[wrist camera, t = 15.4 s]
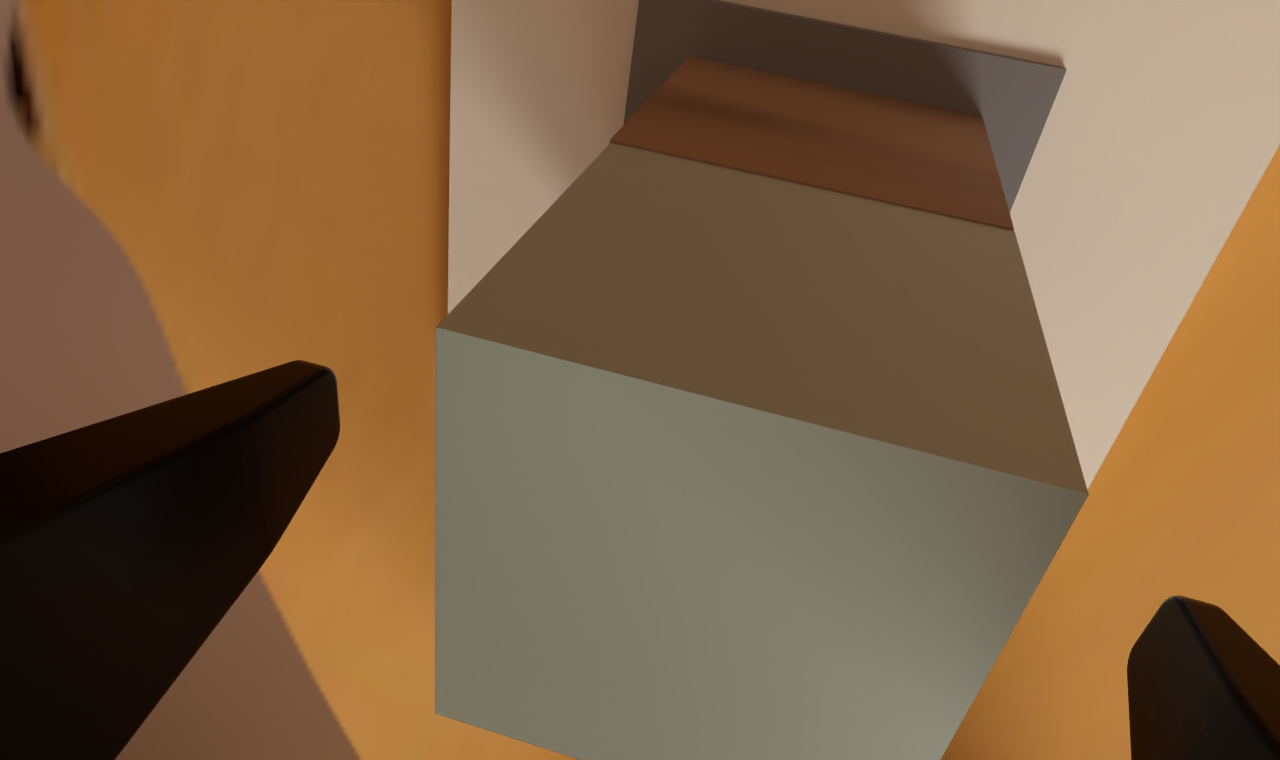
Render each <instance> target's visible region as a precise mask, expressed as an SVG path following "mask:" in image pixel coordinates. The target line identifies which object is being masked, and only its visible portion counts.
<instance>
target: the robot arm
mask: <svg viewBox="0 0 1280 760" xmlns="http://www.w3.org/2000/svg"><path fill="white" fill-rule="evenodd" d="M339 432H340V418H339V404H338V391H337V380H336V376H335V374H334V372H333V371H332V370H331V369H330V368H328V367H325V366H321V365H318V364H314V363H310V362H306V361H301V360H296V361H292V362H289V363H285V364H282V365H279V366H276V367H273V368H270V369H266V370H263V371H260V372H257V373H254V374H251V375H247V376H244V377H241V378H238V379H235V380H232V381H228V382H225V383H222V384H219V385H216V386H213V387H209V388H206V389H203V390H200V391H197V392H194V393H190V394H187V395H184V396H181V397H178V398H175V399H171V400H169V401H165V402H162V403H159V404H156V405H153V406H149V407H146V408H143V409H140V410H136V411H133V412H130V413H127V414H124V415H121V416H118V417H114V418H111V419H108V420H105V421H102V422H98V423H95V424H92V425H89V426H86V427H83V428H80V429H77V430H73V431H70V432H67V433H64V434H60V435H57V436H54V437H51V438H48V439H45V440H41V441H38V442H35V443H32V444H29V445H26V446H22V447H19V448H16V449H13V450H10V451H7V452H3V453H0V760H115V759H116V758H117V757H118V755H119V754H120V753H121V751H122V750H123V749H124V747H125V746H126V745H127V744H128V742H129V741H130V740H131V738H132V737H133V736H134V734H135V733H136V732H137V730H138V729H139V728H140V726H141V725H142V724H143V722H144V721H145V720H146V718H147V717H148V716H149V714H150V713H151V712H152V710H153V709H154V708H155V706H156V705H157V704H158V703H159V701H160V700H161V699H162V697H163V696H164V695H165V693H166V692H167V691H168V689H169V688H170V687H171V685H172V684H173V683H174V681H175V680H176V679H177V677H178V676H179V675H180V674H181V672H182V671H183V670H184V668H185V667H186V666H187V664H188V663H189V662H190V660H191V659H192V658H193V656H194V655H195V654H196V652H197V651H198V650H199V648H200V647H201V646H202V644H203V643H204V641H205V640H206V639H207V638H208V636H209V635H210V634H211V633H212V631H213V630H214V629H215V627H216V626H217V625H218V623H219V622H220V621H221V619H222V618H223V617H224V615H225V614H226V613H227V611H228V610H229V609H230V607H231V606H232V605H233V603H234V602H235V601H236V600H237V598H238V597H239V596H240V594H241V593H242V592H243V590H244V589H245V587H246V586H247V585H248V584H249V582H250V581H251V580H252V578H253V577H254V576H255V574H256V573H257V572H258V570H259V569H260V568H261V566H262V565H263V564H264V562H265V561H266V559H267V558H268V557H269V555H270V554H271V552H272V551H273V549H274V548H275V546H276V545H277V543H278V541H279V540H280V538H281V537H282V535H283V533H284V532H285V530H286V528H287V527H288V525H289V523H290V522H291V520H292V518H293V517H294V515H295V513H296V512H297V510H298V508H299V507H300V505H301V503H302V501H303V500H304V498H305V496H306V495H307V493H308V491H309V490H310V488H311V486H312V485H313V483H314V481H315V480H316V478H317V476H318V475H319V473H320V471H321V470H322V468H323V466H324V464H325V463H326V461H327V459H328V458H329V456H330V454H331V453H332V451H333V449H334V447H335V445H336V443H337V440H338V437H339ZM1127 680H1128V700H1129V720H1130V740H1131V760H1280V665H1279V664H1278V663H1277V662H1276V661H1275V660H1274V659H1273V658H1272V657H1271V656H1269V655H1268V654H1267V653H1266V652H1265V651H1264V650H1263V649H1262V648H1261V647H1260V646H1259V645H1258V644H1257V643H1256V642H1255V641H1254V640H1253V639H1252V638H1251V637H1250V636H1249V635H1248V634H1247V633H1246V632H1245V631H1244V630H1243V629H1242V628H1241V627H1240V626H1239V625H1238V624H1237V623H1236V622H1235V621H1234V620H1233V619H1232V618H1231V617H1230V616H1229V615H1228V614H1227V613H1225V612H1224V611H1223V610H1222V609H1221V608H1219V607H1218V606H1216V605H1213V604H1210V603H1206V602H1202V601H1199V600H1195V599H1191V598H1187V597H1184V596H1172V597H1170V598H1168V599H1167V600H1165V601H1164V603H1163V604H1162V605H1161V606H1160V608H1159V609H1158V611H1157V612H1156V614H1155V615H1154V616H1153V618H1152V619H1151V621H1150V622H1149V624H1148V625H1147V627H1146V628H1145V630H1144V631H1143V633H1142V634H1141V635H1140V637H1139V638H1138V640H1137V641H1136V643H1135V644H1134V646H1133V648H1132V650H1131V652H1130V655H1129V659H1128V665H1127Z"/></svg>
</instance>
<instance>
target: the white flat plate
mask: <svg viewBox="0 0 1280 760" xmlns="http://www.w3.org/2000/svg"><path fill="white" fill-rule="evenodd" d="M689 57H695V58H700V59H705V60H709V61H714V62H719V63H724V64H729V65H734V66H739V67H744V68H749V69H753V70H758V71H763V72H768V73H773V74H778V75H783V76H788V77H793V78H797V79H802V80H807V81H812V82H817V83H822V84H827V85H832V86H837V87H842V88H846V89H851V90H856V91H861V92H866V93H871V94H876V95H881V96H886V97H890V98H895V99H900V100H905V101H910V102H915V103H920V104H925V105H930V106H934V107H939V108H944V109H949V110H954V111H959V112H964V113H969V114H974V115H979V116H982V117H983V120H984V124H985V127H986V131H987V134H988V138H989V141H990V145H991V149H992V152H993V156H994V159H995V163H996V166H997V170H998V173H999V177H1000V181H1001V184H1002V188H1003V191H1004V195H1005V198H1006V202H1007V205H1008V209H1009V212H1010V216H1011V220H1012V223H1013V227H1014V231H1015V234H1016V238H1017V241H1018V245H1019V248H1020V252H1021V256H1022V259H1023V263H1024V266H1025V270H1026V273H1027V277H1028V280H1029V284H1030V288H1031V291H1032V295H1033V298H1034V302H1035V305H1036V309H1037V312H1038V316H1039V320H1040V323H1041V327H1042V330H1043V334H1044V337H1045V341H1046V344H1047V348H1048V352H1049V355H1050V359H1051V362H1052V366H1053V369H1054V373H1055V376H1056V380H1057V384H1058V387H1059V391H1060V394H1061V398H1062V401H1063V405H1064V408H1065V412H1066V416H1067V419H1068V423H1069V426H1070V430H1071V433H1072V437H1073V440H1074V444H1075V448H1076V451H1077V455H1078V458H1079V462H1080V465H1081V469H1082V472H1083V476H1084V480H1085V483H1086V487H1087V489H1088V488H1089V486H1090V484H1091V482H1092V481H1093V479H1094V477H1095V475H1096V473H1097V472H1098V470H1099V468H1100V466H1101V464H1102V463H1103V461H1104V459H1105V457H1106V455H1107V454H1108V452H1109V450H1110V448H1111V446H1112V445H1113V443H1114V441H1115V439H1116V437H1117V436H1118V434H1119V432H1120V430H1121V428H1122V427H1123V425H1124V423H1125V421H1126V419H1127V418H1128V416H1129V414H1130V412H1131V410H1132V409H1133V407H1134V405H1135V403H1136V402H1137V400H1138V398H1139V396H1140V394H1141V393H1142V391H1143V389H1144V387H1145V385H1146V384H1147V382H1148V380H1149V378H1150V376H1151V375H1152V373H1153V371H1154V369H1155V367H1156V366H1157V364H1158V362H1159V360H1160V358H1161V357H1162V355H1163V353H1164V351H1165V349H1166V348H1167V346H1168V344H1169V342H1170V340H1171V339H1172V337H1173V335H1174V333H1175V331H1176V330H1177V328H1178V326H1179V324H1180V323H1181V321H1182V319H1183V317H1184V315H1185V314H1186V312H1187V310H1188V308H1189V306H1190V305H1191V303H1192V301H1193V299H1194V297H1195V296H1196V294H1197V292H1198V290H1199V288H1200V287H1201V285H1202V283H1203V281H1204V279H1205V278H1206V276H1207V274H1208V272H1209V270H1210V269H1211V267H1212V265H1213V263H1214V261H1215V260H1216V258H1217V256H1218V254H1219V252H1220V251H1221V249H1222V247H1223V245H1224V243H1225V242H1226V240H1227V238H1228V236H1229V235H1230V233H1231V231H1232V229H1233V227H1234V226H1235V224H1236V222H1237V220H1238V218H1239V217H1240V215H1241V213H1242V211H1243V209H1244V208H1245V206H1246V204H1247V202H1248V200H1249V199H1250V197H1251V195H1252V193H1253V191H1254V190H1255V188H1256V186H1257V184H1258V182H1259V181H1260V179H1261V177H1262V175H1263V173H1264V172H1265V170H1266V168H1267V166H1268V164H1269V163H1270V161H1271V159H1272V157H1273V156H1274V154H1275V152H1276V150H1277V148H1278V147H1279V145H1280V0H452V11H451V90H450V170H449V249H448V314H449V313H450V312H451V311H452V310H453V309H454V308H455V307H456V306H457V305H458V303H459V302H460V301H461V300H462V299H463V298H464V297H465V296H466V295H467V294H468V293H469V292H470V291H471V290H472V289H473V288H474V287H475V286H476V284H477V283H478V282H479V281H480V280H481V279H482V278H483V277H484V276H485V275H486V274H487V273H488V272H489V271H490V270H491V269H492V268H493V266H494V265H495V264H496V263H497V262H498V261H499V260H500V259H501V258H502V257H503V256H504V255H505V254H506V253H507V252H508V251H509V250H510V249H511V247H512V246H513V245H514V244H515V243H516V242H517V241H518V240H519V239H520V238H521V237H522V236H523V235H524V234H525V233H526V232H527V231H528V230H529V228H530V227H531V226H532V225H533V224H534V223H535V222H536V221H537V220H538V219H539V218H540V217H541V216H542V215H543V214H544V213H545V212H546V211H547V209H548V208H549V207H550V206H551V205H552V204H553V203H554V202H555V201H556V200H557V199H558V198H559V197H560V196H561V195H562V194H563V193H564V192H565V190H566V189H567V188H568V187H569V186H570V185H571V184H572V183H573V182H574V181H575V180H576V179H577V178H578V177H579V176H580V175H581V174H582V172H583V171H584V170H585V169H586V168H587V167H588V166H589V165H590V164H591V163H592V162H593V161H594V160H595V159H596V158H597V157H598V156H599V155H600V153H601V152H602V151H603V150H604V149H605V148H606V147H607V146H608V145H609V142H610V139H611V138H612V137H613V136H614V135H615V134H616V133H617V132H618V131H619V130H620V129H621V128H622V127H623V125H624V124H625V123H626V122H627V121H628V120H629V119H630V118H631V117H632V116H633V115H634V114H635V113H636V112H637V111H638V110H639V109H640V108H641V107H642V106H643V105H644V104H645V103H646V101H647V100H648V99H649V98H650V97H651V96H652V95H653V94H654V93H655V92H656V91H657V90H658V89H659V88H660V87H661V86H662V85H663V84H664V83H665V82H666V81H667V80H668V79H669V78H670V76H671V75H672V74H673V73H674V72H675V71H676V70H677V69H678V68H679V67H680V66H681V65H682V64H683V63H684V62H685V61H686V60H687V59H688V58H689Z"/></svg>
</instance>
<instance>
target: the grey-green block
mask: <svg viewBox="0 0 1280 760" xmlns="http://www.w3.org/2000/svg"><path fill="white" fill-rule="evenodd" d="M1088 495H1089V494H1088V490H1087V487H1086V483H1085V480H1084V476H1083V472H1082V469H1081V465H1080V462H1079V458H1078V455H1077V451H1076V448H1075V444H1074V440H1073V437H1072V433H1071V430H1070V426H1069V423H1068V419H1067V416H1066V412H1065V408H1064V405H1063V401H1062V398H1061V394H1060V391H1059V387H1058V384H1057V380H1056V376H1055V373H1054V369H1053V366H1052V362H1051V359H1050V355H1049V352H1048V348H1047V344H1046V341H1045V337H1044V334H1043V330H1042V327H1041V323H1040V320H1039V316H1038V312H1037V309H1036V305H1035V302H1034V298H1033V295H1032V291H1031V288H1030V284H1029V280H1028V277H1027V273H1026V270H1025V266H1024V263H1023V259H1022V256H1021V252H1020V248H1019V245H1018V241H1017V238H1016V234H1015V231H1011V230H1007V229H1002V228H998V227H993V226H988V225H984V224H979V223H975V222H970V221H966V220H961V219H957V218H952V217H947V216H943V215H938V214H934V213H929V212H925V211H920V210H915V209H911V208H906V207H902V206H897V205H893V204H888V203H883V202H879V201H874V200H870V199H865V198H861V197H856V196H851V195H847V194H842V193H838V192H833V191H829V190H824V189H820V188H815V187H810V186H806V185H801V184H797V183H792V182H788V181H783V180H778V179H774V178H769V177H765V176H760V175H756V174H751V173H746V172H742V171H737V170H733V169H728V168H724V167H719V166H714V165H710V164H705V163H701V162H696V161H692V160H687V159H682V158H678V157H673V156H669V155H664V154H660V153H655V152H651V151H646V150H641V149H637V148H632V147H628V146H623V145H619V144H614V143H610V144H609V145H608V146H607V147H606V148H605V149H604V150H603V151H602V152H601V153H600V155H599V156H598V157H597V158H596V159H595V160H594V161H593V162H592V163H591V164H590V165H589V166H588V167H587V168H586V169H585V170H584V171H583V172H582V174H581V175H580V176H579V177H578V178H577V179H576V180H575V181H574V182H573V183H572V184H571V185H570V186H569V187H568V188H567V189H566V190H565V192H564V193H563V194H562V195H561V196H560V197H559V198H558V199H557V200H556V201H555V202H554V203H553V204H552V205H551V206H550V207H549V208H548V209H547V211H546V212H545V213H544V214H543V215H542V216H541V217H540V218H539V219H538V220H537V221H536V222H535V223H534V224H533V225H532V226H531V227H530V228H529V230H528V231H527V232H526V233H525V234H524V235H523V236H522V237H521V238H520V239H519V240H518V241H517V242H516V243H515V244H514V245H513V246H512V247H511V249H510V250H509V251H508V252H507V253H506V254H505V255H504V256H503V257H502V258H501V259H500V260H499V261H498V262H497V263H496V264H495V265H494V266H493V268H492V269H491V270H490V271H489V272H488V273H487V274H486V275H485V276H484V277H483V278H482V279H481V280H480V281H479V282H478V283H477V284H476V286H475V287H474V288H473V289H472V290H471V291H470V292H469V293H468V294H467V295H466V296H465V297H464V298H463V299H462V300H461V301H460V302H459V303H458V305H457V306H456V307H455V308H454V309H453V310H452V311H451V312H450V313H449V314H448V315H447V316H446V317H445V318H444V319H443V320H442V321H441V322H440V324H439V325H438V326H437V327H436V520H435V714H439V715H442V716H445V717H448V718H451V719H454V720H457V721H460V722H463V723H467V724H470V725H473V726H476V727H479V728H482V729H485V730H488V731H492V732H495V733H498V734H501V735H504V736H507V737H510V738H513V739H516V740H520V741H523V742H526V743H529V744H532V745H535V746H538V747H541V748H544V749H548V750H551V751H554V752H557V753H560V754H563V755H566V756H569V757H572V758H576V759H579V760H941V758H942V756H943V754H944V753H945V751H946V749H947V747H948V745H949V744H950V742H951V740H952V738H953V737H954V735H955V733H956V731H957V729H958V728H959V726H960V724H961V722H962V720H963V719H964V717H965V715H966V713H967V711H968V710H969V708H970V706H971V704H972V703H973V701H974V699H975V697H976V695H977V694H978V692H979V690H980V688H981V686H982V685H983V683H984V681H985V679H986V677H987V676H988V674H989V672H990V670H991V668H992V667H993V665H994V663H995V661H996V660H997V658H998V656H999V654H1000V652H1001V651H1002V649H1003V647H1004V645H1005V643H1006V642H1007V640H1008V638H1009V636H1010V634H1011V633H1012V631H1013V629H1014V627H1015V626H1016V624H1017V622H1018V620H1019V618H1020V617H1021V615H1022V613H1023V611H1024V609H1025V608H1026V606H1027V604H1028V602H1029V600H1030V599H1031V597H1032V595H1033V593H1034V591H1035V590H1036V588H1037V586H1038V584H1039V583H1040V581H1041V579H1042V577H1043V575H1044V574H1045V572H1046V570H1047V568H1048V566H1049V565H1050V563H1051V561H1052V559H1053V557H1054V556H1055V554H1056V552H1057V550H1058V549H1059V547H1060V545H1061V543H1062V541H1063V540H1064V538H1065V536H1066V534H1067V532H1068V531H1069V529H1070V527H1071V525H1072V523H1073V522H1074V520H1075V518H1076V516H1077V514H1078V513H1079V511H1080V509H1081V507H1082V506H1083V504H1084V502H1085V500H1086V498H1087V497H1088Z"/></svg>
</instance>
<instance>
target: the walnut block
mask: <svg viewBox="0 0 1280 760" xmlns="http://www.w3.org/2000/svg"><path fill="white" fill-rule="evenodd" d="M610 143H614V144H619V145H623V146H628V147H632V148H637V149H641V150H646V151H651V152H655V153H660V154H664V155H669V156H673V157H678V158H682V159H687V160H692V161H696V162H701V163H705V164H710V165H714V166H719V167H724V168H728V169H733V170H737V171H742V172H746V173H751V174H756V175H760V176H765V177H769V178H774V179H778V180H783V181H788V182H792V183H797V184H801V185H806V186H810V187H815V188H820V189H824V190H829V191H833V192H838V193H842V194H847V195H851V196H856V197H861V198H865V199H870V200H874V201H879V202H883V203H888V204H893V205H897V206H902V207H906V208H911V209H915V210H920V211H925V212H929V213H934V214H938V215H943V216H947V217H952V218H957V219H961V220H966V221H970V222H975V223H979V224H984V225H988V226H993V227H998V228H1002V229H1007V230H1011V231H1014V227H1013V223H1012V220H1011V216H1010V212H1009V209H1008V205H1007V202H1006V198H1005V195H1004V191H1003V188H1002V184H1001V181H1000V177H999V173H998V170H997V166H996V163H995V159H994V156H993V152H992V149H991V145H990V141H989V138H988V134H987V131H986V127H985V124H984V120H983V117H982V116H979V115H974V114H969V113H964V112H959V111H954V110H949V109H944V108H939V107H934V106H930V105H925V104H920V103H915V102H910V101H905V100H900V99H895V98H890V97H886V96H881V95H876V94H871V93H866V92H861V91H856V90H851V89H846V88H842V87H837V86H832V85H827V84H822V83H817V82H812V81H807V80H802V79H797V78H793V77H788V76H783V75H778V74H773V73H768V72H763V71H758V70H753V69H749V68H744V67H739V66H734V65H729V64H724V63H719V62H714V61H709V60H705V59H700V58H695V57H689V58H688V59H687V60H686V61H685V62H684V63H683V64H682V65H681V66H680V67H679V68H678V69H677V70H676V71H675V72H674V73H673V74H672V75H671V76H670V78H669V79H668V80H667V81H666V82H665V83H664V84H663V85H662V86H661V87H660V88H659V89H658V90H657V91H656V92H655V93H654V94H653V95H652V96H651V97H650V98H649V99H648V100H647V101H646V103H645V104H644V105H643V106H642V107H641V108H640V109H639V110H638V111H637V112H636V113H635V114H634V115H633V116H632V117H631V118H630V119H629V120H628V121H627V122H626V123H625V124H624V125H623V127H622V128H621V129H620V130H619V131H618V132H617V133H616V134H615V135H614V136H613V137H612V138H611V139H610V142H609V144H610Z"/></svg>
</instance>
